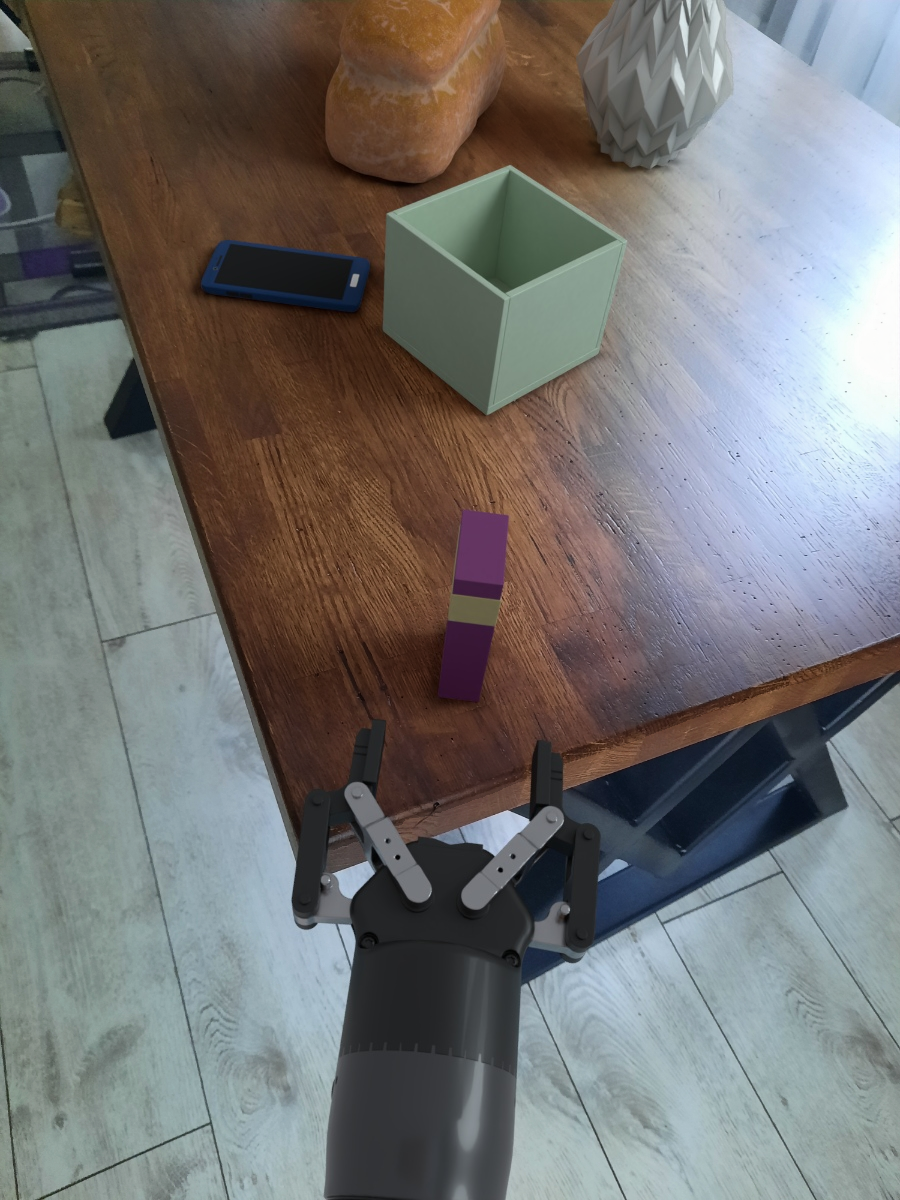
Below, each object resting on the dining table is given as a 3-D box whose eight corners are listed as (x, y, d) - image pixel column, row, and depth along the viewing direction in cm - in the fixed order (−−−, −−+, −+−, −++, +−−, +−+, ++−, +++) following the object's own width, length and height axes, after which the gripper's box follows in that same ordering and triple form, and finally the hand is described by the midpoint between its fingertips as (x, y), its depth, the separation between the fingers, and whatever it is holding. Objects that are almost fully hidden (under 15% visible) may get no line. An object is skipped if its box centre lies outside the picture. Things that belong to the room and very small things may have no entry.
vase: (532, 137, 101) (562, -59, 87) (633, 101, 109) (677, -86, 94) (640, 207, 95) (692, 6, 80) (740, 163, 102) (805, -28, 87)
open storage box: (494, 278, 85) (510, 164, 77) (598, 354, 80) (628, 240, 71) (382, 330, 79) (385, 213, 71) (486, 415, 74) (504, 300, 65)
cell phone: (358, 314, 80) (358, 306, 79) (198, 292, 80) (197, 285, 79) (371, 265, 85) (371, 258, 84) (219, 245, 84) (219, 237, 84)
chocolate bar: (444, 631, 61) (461, 508, 51) (485, 636, 61) (510, 514, 51) (436, 697, 58) (453, 579, 48) (479, 703, 58) (504, 586, 48)
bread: (312, 166, 94) (306, -1, 82) (402, 63, 110) (408, -90, 97) (437, 199, 92) (450, 33, 80) (511, 90, 108) (531, -63, 96)
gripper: (616, 1084, 36) (611, 717, 45) (247, 1039, 35) (322, 681, 45) (578, 1114, 42) (581, 784, 51) (262, 1076, 41) (326, 752, 51)
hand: (460, 736), depth 48 cm, fingers open, 8 cm apart
